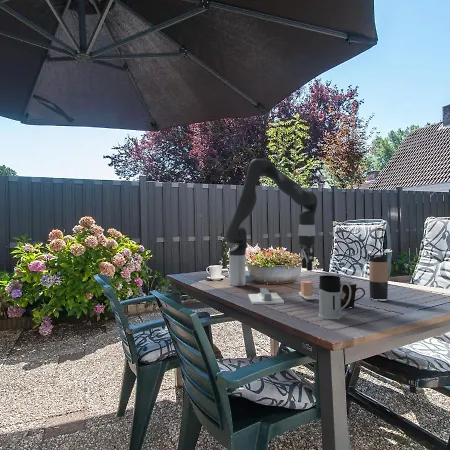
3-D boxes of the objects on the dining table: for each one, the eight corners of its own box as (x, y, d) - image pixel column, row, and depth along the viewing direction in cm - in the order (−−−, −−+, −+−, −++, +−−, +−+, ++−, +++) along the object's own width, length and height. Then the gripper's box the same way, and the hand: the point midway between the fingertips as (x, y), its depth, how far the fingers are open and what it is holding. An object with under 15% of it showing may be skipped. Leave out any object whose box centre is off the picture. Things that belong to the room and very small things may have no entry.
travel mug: (386, 298, 155) (385, 255, 155) (389, 302, 148) (389, 256, 148) (368, 297, 157) (368, 255, 157) (370, 301, 150) (370, 256, 150)
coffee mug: (330, 305, 144) (330, 281, 144) (346, 303, 147) (346, 280, 147) (349, 311, 133) (349, 286, 133) (366, 309, 136) (366, 285, 136)
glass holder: (329, 312, 133) (329, 274, 132) (359, 321, 120) (359, 279, 120) (313, 315, 128) (312, 276, 128) (342, 325, 116) (341, 281, 116)
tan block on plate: (299, 293, 162) (298, 279, 162) (307, 293, 162) (307, 279, 162) (306, 299, 150) (305, 284, 150) (314, 299, 150) (314, 284, 150)
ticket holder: (248, 296, 163) (248, 287, 163) (277, 295, 164) (276, 287, 164) (252, 304, 147) (252, 294, 147) (284, 303, 148) (284, 294, 148)
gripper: (294, 233, 163) (294, 267, 163) (303, 235, 149) (303, 271, 149) (310, 233, 163) (310, 267, 164) (319, 235, 149) (319, 271, 149)
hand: (306, 269), depth 156 cm, fingers open, 8 cm apart
